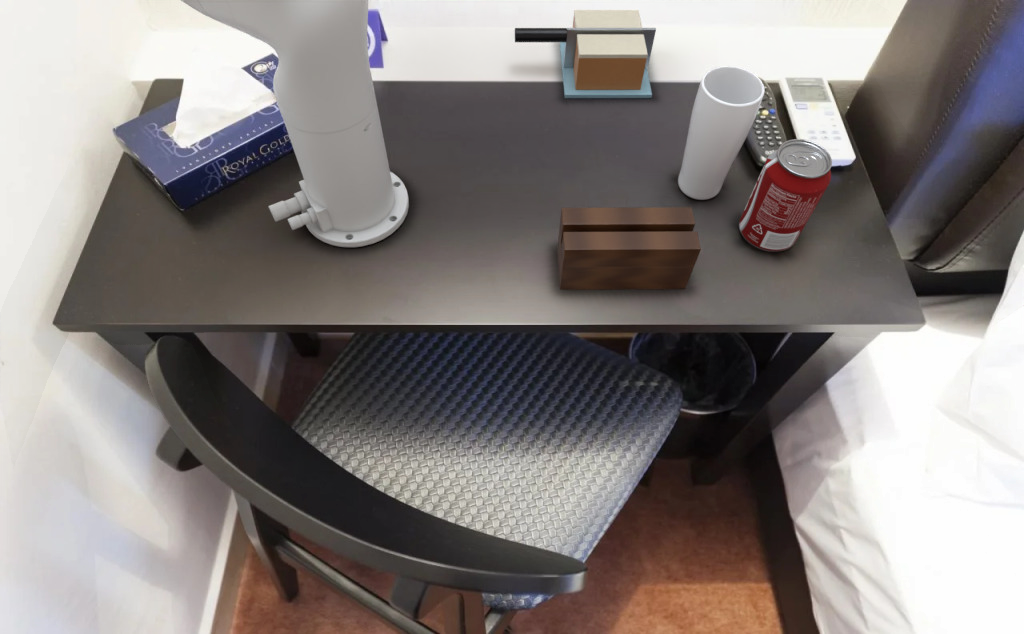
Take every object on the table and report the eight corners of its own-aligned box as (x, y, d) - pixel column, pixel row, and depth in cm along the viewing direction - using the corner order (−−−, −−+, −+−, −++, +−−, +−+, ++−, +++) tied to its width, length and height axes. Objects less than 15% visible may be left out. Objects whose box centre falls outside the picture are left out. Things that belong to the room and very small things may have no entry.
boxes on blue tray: (564, 98, 91) (568, 59, 86) (559, 45, 98) (563, 5, 93) (651, 98, 92) (660, 59, 86) (640, 45, 98) (648, 5, 93)
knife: (647, 63, 95) (655, 24, 90) (648, 71, 94) (656, 32, 89) (514, 63, 95) (514, 24, 90) (514, 71, 94) (515, 32, 89)
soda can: (796, 260, 76) (840, 185, 66) (736, 250, 77) (771, 175, 67) (794, 216, 80) (836, 139, 70) (737, 207, 81) (771, 130, 71)
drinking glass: (668, 200, 81) (698, 100, 69) (673, 162, 85) (703, 60, 72) (724, 211, 80) (764, 110, 68) (727, 172, 84) (767, 70, 71)
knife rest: (559, 289, 74) (564, 249, 68) (557, 249, 77) (561, 207, 71) (685, 289, 74) (701, 249, 68) (677, 248, 77) (691, 206, 71)
